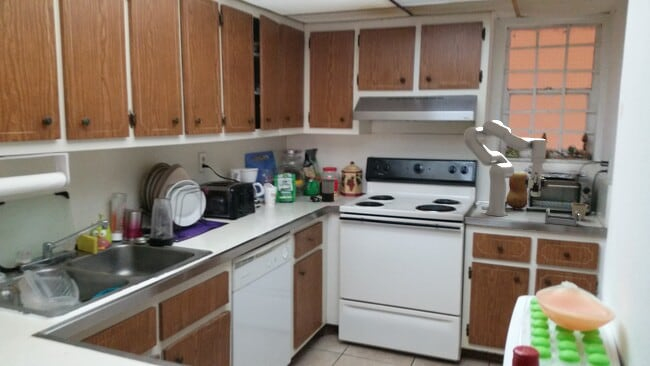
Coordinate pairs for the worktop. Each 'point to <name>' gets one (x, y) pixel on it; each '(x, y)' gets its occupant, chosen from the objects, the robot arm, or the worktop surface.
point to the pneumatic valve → (542, 184)
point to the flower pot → (579, 209)
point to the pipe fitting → (562, 219)
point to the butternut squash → (517, 190)
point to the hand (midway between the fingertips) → (536, 191)
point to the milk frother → (325, 191)
